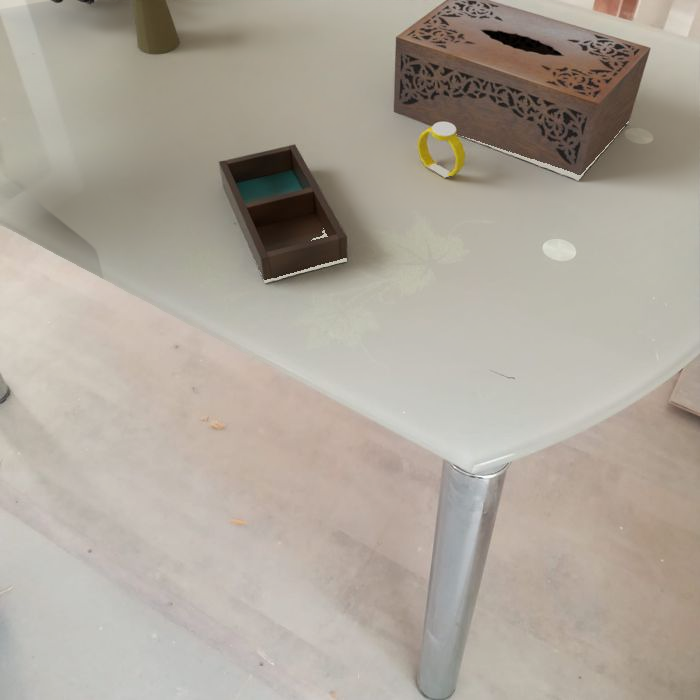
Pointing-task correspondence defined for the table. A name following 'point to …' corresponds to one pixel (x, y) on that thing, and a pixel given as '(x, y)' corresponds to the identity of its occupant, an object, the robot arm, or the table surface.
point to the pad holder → (282, 211)
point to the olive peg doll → (154, 26)
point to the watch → (443, 133)
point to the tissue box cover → (518, 80)
